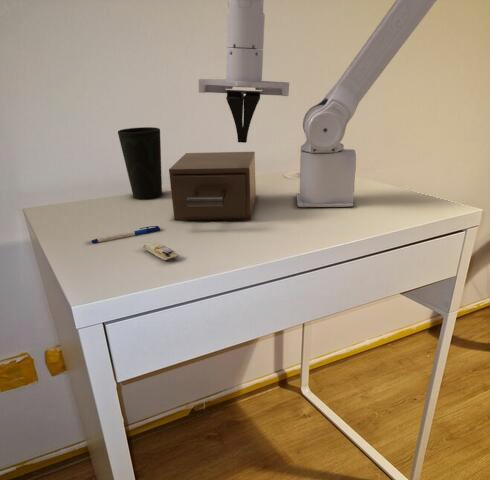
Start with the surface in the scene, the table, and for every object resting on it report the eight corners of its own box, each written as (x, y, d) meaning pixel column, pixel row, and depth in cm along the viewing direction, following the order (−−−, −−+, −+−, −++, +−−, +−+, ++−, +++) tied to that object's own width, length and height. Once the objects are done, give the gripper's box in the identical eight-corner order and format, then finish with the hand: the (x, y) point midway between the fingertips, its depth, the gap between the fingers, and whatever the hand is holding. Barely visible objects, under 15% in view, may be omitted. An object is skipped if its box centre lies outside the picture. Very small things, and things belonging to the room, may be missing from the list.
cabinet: (250, 219, 75) (249, 167, 71) (174, 220, 76) (168, 169, 72) (255, 196, 88) (254, 151, 84) (190, 197, 89) (186, 153, 85)
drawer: (244, 225, 70) (242, 183, 67) (169, 226, 71) (164, 184, 68) (251, 194, 86) (250, 159, 83) (190, 195, 87) (187, 160, 83)
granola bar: (141, 249, 65) (140, 242, 64) (156, 245, 66) (155, 238, 65) (164, 263, 60) (163, 255, 59) (180, 258, 61) (179, 251, 60)
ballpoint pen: (158, 230, 73) (158, 223, 72) (161, 231, 72) (160, 225, 72) (91, 243, 68) (90, 236, 68) (93, 245, 68) (92, 238, 67)
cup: (171, 190, 94) (164, 126, 88) (161, 200, 88) (153, 132, 82) (134, 191, 95) (125, 127, 89) (122, 201, 88) (111, 133, 82)
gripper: (194, 46, 69) (196, 143, 76) (292, 50, 69) (285, 147, 75) (201, 47, 75) (202, 137, 82) (291, 50, 75) (284, 140, 82)
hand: (242, 141), depth 79 cm, fingers closed
